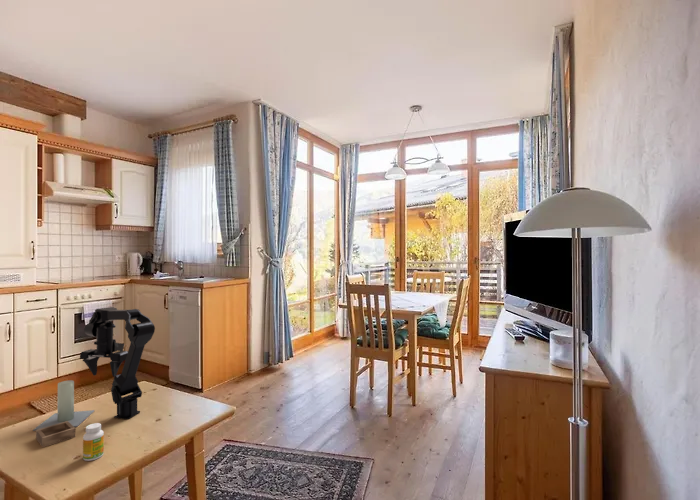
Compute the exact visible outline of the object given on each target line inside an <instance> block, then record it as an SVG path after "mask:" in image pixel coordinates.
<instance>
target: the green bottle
mask: <svg viewBox="0 0 700 500" xmlns="http://www.w3.org/2000/svg"><path fill="white" fill-rule="evenodd" d="M74 412H75V381H74V380H72V379H71V380H64V381H61V382H60V381H59V382H58V383H57V413H58V422H65V421H70V420H72V419H73V418H74Z"/></svg>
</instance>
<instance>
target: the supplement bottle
mask: <svg viewBox="0 0 700 500" xmlns="http://www.w3.org/2000/svg"><path fill="white" fill-rule="evenodd" d="M104 433H105V432H104V430H103V429H102V424H101V423H100V422H95V423H91V424H88V425H87V426H86V427H85V433H84V434H83V437H82V460H84V461H85V462H91V461H95V460H98V459H100V458H102V457H103V455H104V454H105V453H104V449H105V448H104V447H105V446H104V445H105V444H104V441H105V439H104V438H105V437H104V436H105V434H104Z"/></svg>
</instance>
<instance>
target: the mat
mask: <svg viewBox="0 0 700 500" xmlns="http://www.w3.org/2000/svg"><path fill="white" fill-rule="evenodd" d="M94 412H95V409H91V410H78V411H74V418H73V419H72V420H70V421H68V422H69V423H70V424H71V425H72V426H74V427H75V428H77V427H79V426H80V425H81V424H82V423H83V422H84V421H86V419H87V418H89V417H90V416H91V415H92V414H93V413H94ZM59 423H62V422H58V412H55V413H53V414H51V416H49V417H48V418H47V419H45V420H44V421H42V422H41V423H40V424H39V425H37V426H36V427H35V428H33V429H32V431H33V432H36V430H38V429H41V428H45V427H48V426H52V425H55V424H59Z"/></svg>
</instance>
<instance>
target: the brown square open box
mask: <svg viewBox="0 0 700 500" xmlns="http://www.w3.org/2000/svg"><path fill="white" fill-rule="evenodd" d="M74 438H76V427H74V426H72V425H71V424H70V423H69V422H68V421H65V422H62V423H59V424H55V425H52V426H48V427H45V428H41V429H38V430H36V431H35V439H36V441H37V442H38V443H39V444H40V446H41V448H45V447H48V446H51V445H54V444H57V443H60V442H64V441H67V440H70V439H74Z"/></svg>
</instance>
